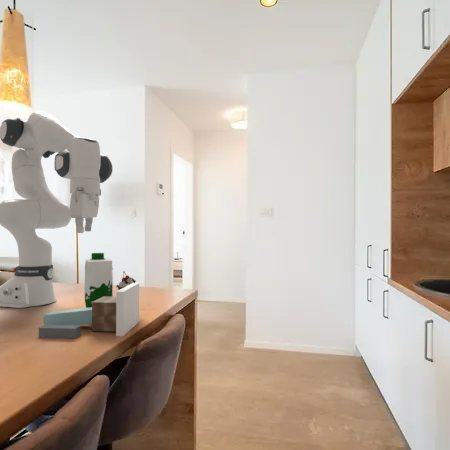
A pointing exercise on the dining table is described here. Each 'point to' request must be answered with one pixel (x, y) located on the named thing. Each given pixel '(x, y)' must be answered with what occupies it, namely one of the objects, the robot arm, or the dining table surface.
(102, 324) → the block
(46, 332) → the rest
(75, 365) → the dining table surface
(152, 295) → the dining table surface
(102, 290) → the milk carton
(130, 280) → the sundae
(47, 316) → the peg
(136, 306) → the wall
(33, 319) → the dining table surface
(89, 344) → the dining table surface
